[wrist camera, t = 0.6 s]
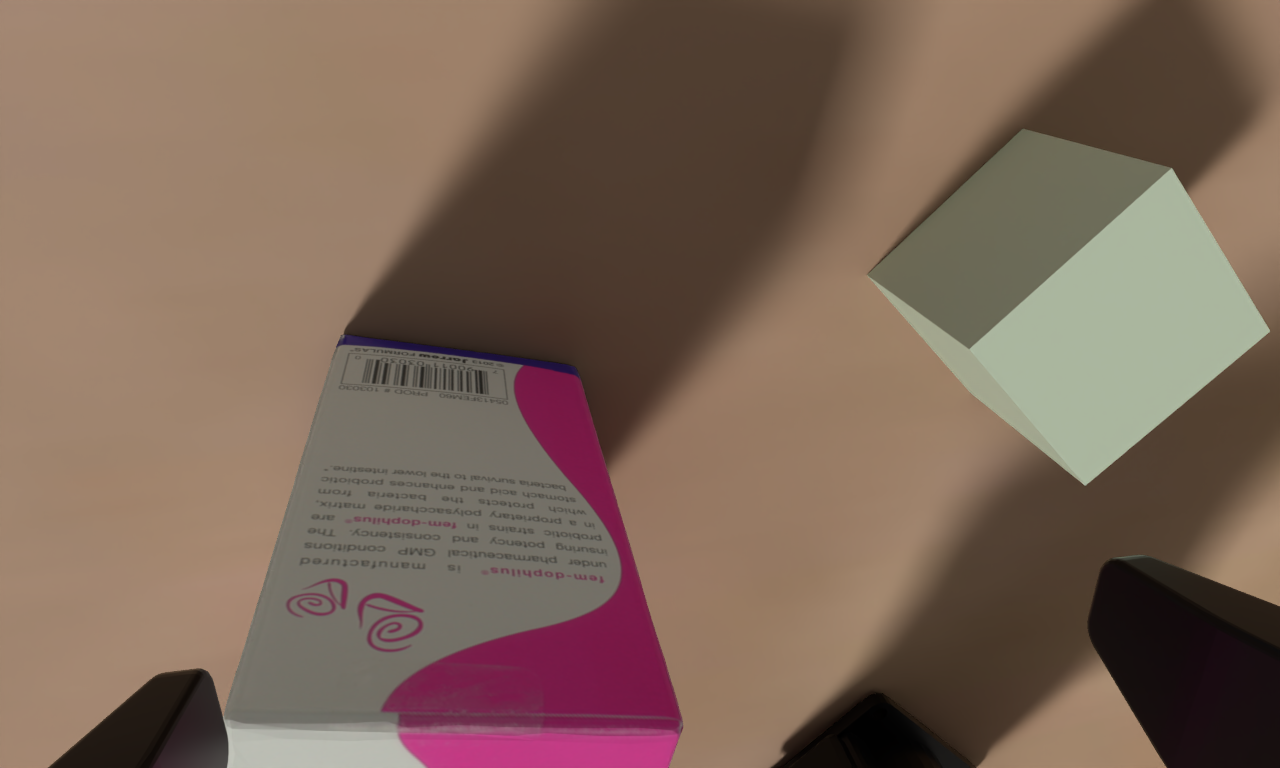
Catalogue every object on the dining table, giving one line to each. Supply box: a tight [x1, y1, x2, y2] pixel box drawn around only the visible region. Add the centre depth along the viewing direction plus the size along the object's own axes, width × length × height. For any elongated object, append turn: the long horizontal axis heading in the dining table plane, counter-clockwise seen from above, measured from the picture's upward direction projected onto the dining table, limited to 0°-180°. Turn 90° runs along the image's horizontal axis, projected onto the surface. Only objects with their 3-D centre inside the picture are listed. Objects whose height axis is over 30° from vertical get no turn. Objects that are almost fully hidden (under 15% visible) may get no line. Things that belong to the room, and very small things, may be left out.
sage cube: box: [867, 129, 1270, 486], centre depth 20 cm, size 5×5×5 cm
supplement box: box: [223, 335, 683, 768], centre depth 17 cm, size 6×6×12 cm
